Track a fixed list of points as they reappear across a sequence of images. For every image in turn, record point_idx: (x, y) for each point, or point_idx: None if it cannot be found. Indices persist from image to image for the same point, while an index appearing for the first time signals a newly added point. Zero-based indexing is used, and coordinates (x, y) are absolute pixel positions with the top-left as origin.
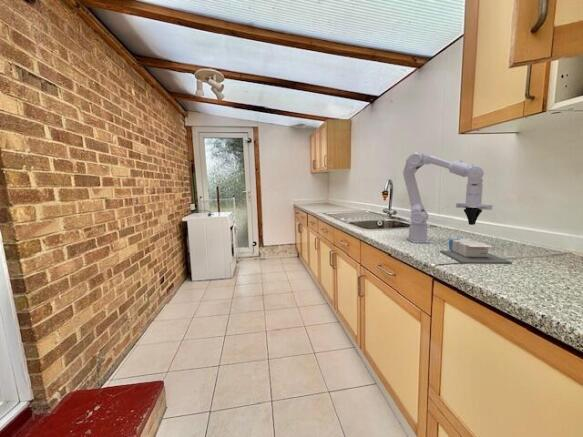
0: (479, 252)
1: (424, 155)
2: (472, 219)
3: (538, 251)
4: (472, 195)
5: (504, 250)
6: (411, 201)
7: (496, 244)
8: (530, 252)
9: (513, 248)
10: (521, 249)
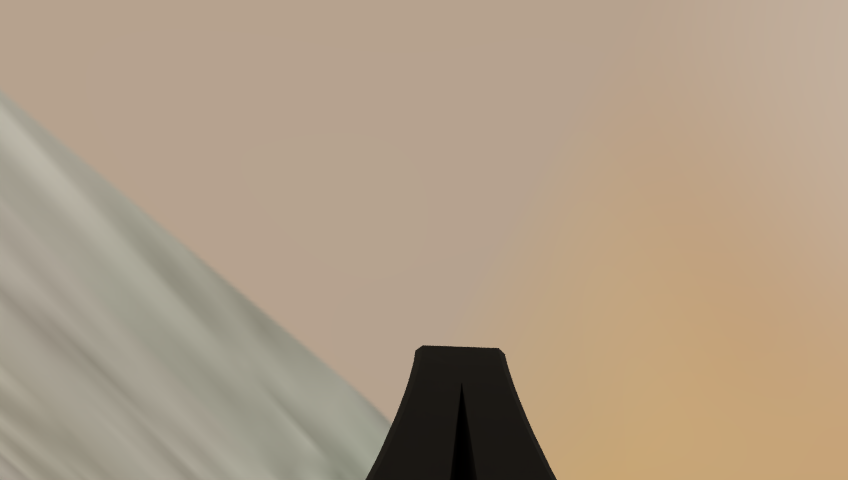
0: None
1: None
2: (376, 459)
3: (55, 470)
4: None
5: (162, 290)
6: None
7: None
8: (32, 395)
9: (209, 428)
10: (154, 441)
